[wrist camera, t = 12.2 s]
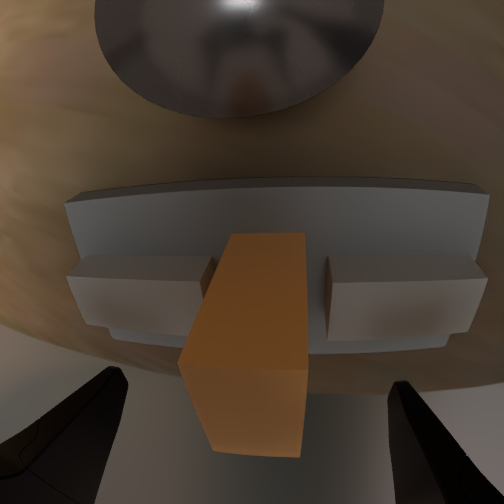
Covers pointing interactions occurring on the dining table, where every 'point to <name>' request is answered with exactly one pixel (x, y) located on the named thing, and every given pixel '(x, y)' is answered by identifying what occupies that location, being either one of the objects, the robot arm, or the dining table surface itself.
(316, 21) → the grey and brown spool
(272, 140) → the dining table surface
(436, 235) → the notched board
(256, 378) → the orange tab
